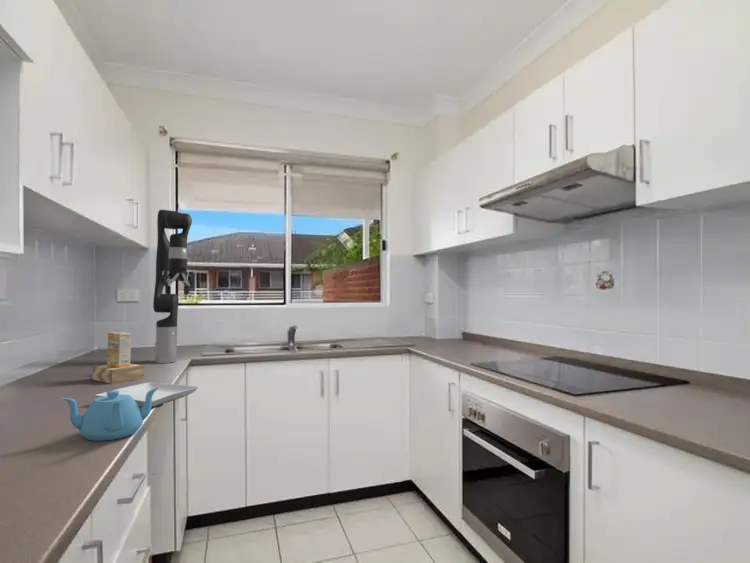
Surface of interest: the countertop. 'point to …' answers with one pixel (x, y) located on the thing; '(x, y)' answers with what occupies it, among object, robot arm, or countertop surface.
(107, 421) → the teapot
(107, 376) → the plate
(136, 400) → the salad plate
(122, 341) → the supplement box
